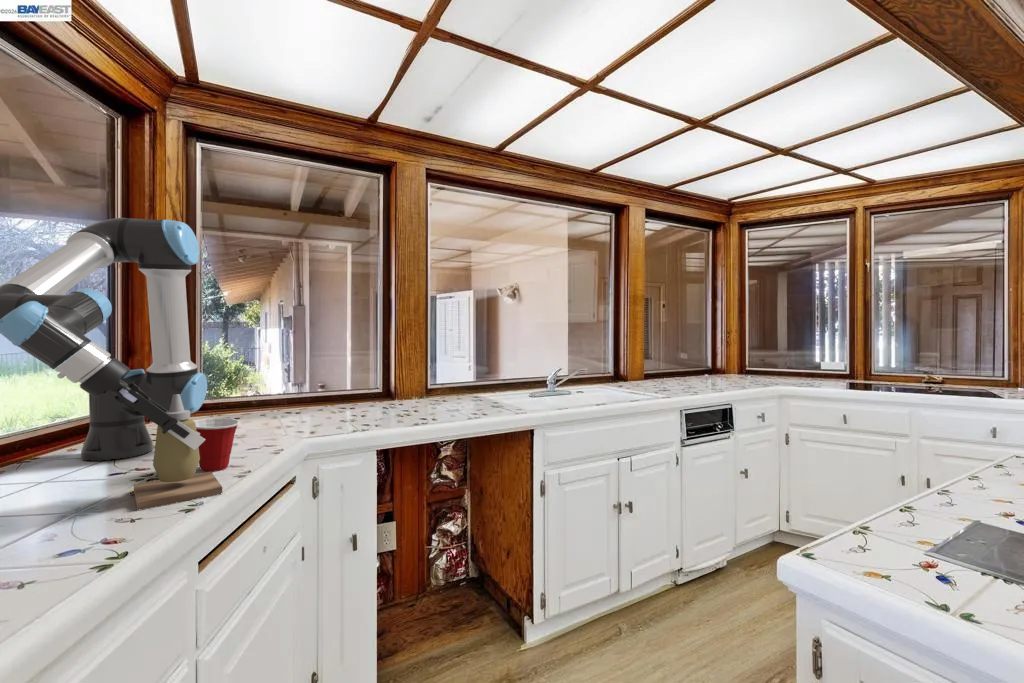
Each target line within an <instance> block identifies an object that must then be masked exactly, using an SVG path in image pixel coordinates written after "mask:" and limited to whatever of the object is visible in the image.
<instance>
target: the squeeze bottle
mask: <svg viewBox="0 0 1024 683" xmlns="http://www.w3.org/2000/svg"><path fill="white" fill-rule="evenodd" d="M166 413H167V414H169V415H170V416H171V417H173V418H175V419H177V421H178V420H179V421H180V422H181V423H183V424H184V425H186V426H187V427H189V428H190V429H191V430H193V431H194V432H196V424H195V422H194V421H195V420H193V419H191V414H190V411H189V410H184V407H183V404H182V400H181V397H180V394H175V395H173V397H172V401H171V405H170V409H169V411H167V412H166ZM167 421H168V420H167ZM162 431H163V429H162V428H161V427H160V426H158V425H157V427H156V437H155V445H154V453H153V454H154V455H153V460H152V461H153V463H152V466H153V468H154V470H155V473H156V475H157V477H158V480H160V481H161V482H179V481H183V480H187V479H190V478H192V477H193V476H194V474H196V472H197V471H196V470H197V468H198V466H199V460H200V455H199V447H198V448H197V449H196V450H194V449H192V448H191V447H189V446H188V445H186V444H185V443H184V442H182V441H181V440H179V439H178V438H176V437H175V436H173V435H172V434H170V433H169V432H166V433H165V434H163V433H162ZM196 433H197V432H196Z"/></svg>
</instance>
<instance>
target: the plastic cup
mask: <svg viewBox="0 0 1024 683" xmlns="http://www.w3.org/2000/svg"><path fill="white" fill-rule="evenodd" d="M193 421H194V422H195V424H196V431H197V432H199V433H200V436H201V437H203V438H204V439H205V441H204V442H203V443H202V444H201V445H200V446H199V455H200V460H199V463H198V466H199V469H200V471H201V472H203V473H205V472H217V471H221V470H225V469H227V468H228V467H229V463H230V457H231V453H232V450H233V445H234V440H235V433H236V431H237V428H238V426H239V424H240V423H241V421H240V420H238V419H236V418H230V417H210V418H209V417H208V418H200V419H195V420H193Z"/></svg>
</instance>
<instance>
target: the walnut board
mask: <svg viewBox="0 0 1024 683" xmlns="http://www.w3.org/2000/svg"><path fill="white" fill-rule="evenodd" d="M221 493H222V494H223V486H222V484H221V483H220V481H219V480H218V479H217V477H216V476H215V475H214V473H213V471H211V472H200V473H195V474H194V476H193V477H192V478H190V479H187V480H183V481H179V482H161V481H160V480H159V479H158V480H153V481H152V480H151V481H145V482H141V483H134V484H133V496H134V495H135V496H134V500H135V501H136V502H135V501H134V502H135V506H136V507H137V508H136V511H137V510H138V511H140V510H139V509H143V510H146V509H145V508H148V509H152V508H151V507H153V508H156V507H155V506H158V507H162V506H161V505H163V506H168V505H172V504H171V503H173V504H176V502H178V503H182V501H183V502H187V501H186V500H189V501H193V500H192V499H194V500H198V499H197V498H199V499H203V498H202V497H204V498H208V497H207V496H209V497H212V496H213V495H214V496H218V495H217V494H219V495H222V494H221ZM214 496H213V497H214ZM167 504H168V505H167Z"/></svg>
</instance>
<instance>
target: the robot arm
mask: <svg viewBox="0 0 1024 683" xmlns="http://www.w3.org/2000/svg"><path fill="white" fill-rule="evenodd" d="M199 257H200V247H199V242H198V239H197V237H196V235H195V232H194V231H193V229H192V228H191V227H190V225H189V224H187V223H186V222H184V221H183V222H182V221H180V220H179V221H178V220H172V219H154V218H153V219H151V218H130V217H115V218H109V219H105V220H102V221H98V222H96V223H92V224H91V225H88V226H85V227H84V228H81V229H80V230H78V231H76V232H75V233H73V234H71V235H70V236H69V237H68V238H67V240H66V243H65V244H64V245H63V246H61V247H60V248H58V249H56V250H55V251H53V252H52V253H50V254H49V255H47V256H45V257H44V258H43V259H41V260H39V261H38V262H36V263H34V264H33V265H31V266H30V267H29V268H27V269H25V270H23V271H22V272H20V273H19V274H17V275H16V276H14V277H13V278H11V279H9V280H8V281H7V282H5V283H2V284H1V285H0V335H2V336H3V337H4V338H6V339H7V340H8V341H9V342H10V343H12V345H14V346H15V347H16V346H17V347H18V348H20V349H21V350H23V351H24V352H25V353H28V354H29V355H31V356H32V357H34V358H35V359H37V360H38V361H40V362H41V363H43V364H45V365H46V366H48V367H49V368H51V369H52V370H54V371H55V372H56V373H58V374H57V378H58V379H63V378H65V377H66V379H67V380H69V381H70V382H72V383H73V384H77V383H80V384H79V385H78V386H79V388H80V389H81V390H83V391H85V392H86V393H87V394H88V403H89V404H88V405H89V408H88V409H89V410H88V413H89V416H88V417H89V428H88V432H87V436H86V438H85V441H84V443H83V445H82V448H81V450H80V457H81V458H80V459H81V460H82V459H83V460H82V461H86V460H91V461H90V462H100V461H99V460H106V461H112V460H111V459H116V460H121V459H120V458H123V459H128V458H127V457H129V458H134V457H138V456H142V455H144V453H146V454H148V453H150V452H153V449H154V447H153V446H154V445H153V444H154V443H153V440H152V437H151V435H150V433H149V431H148V430H149V429H148V428H147V426H146V422H145V417H146V419H149V421H151V422H152V423H153V424H155V425H157V426H160V427H161V428H162V429H163V431H162V433H163V434H165V433H166V432H169V433H170V434H172V435H173V436H175V437H176V438H178V439H179V440H181V441H182V442H184V443H185V444H186V445H188V446H189V447H191V448H192V449H194V450H196V449H197V448H198V447H199V446H200V445H201V444H202V443H203V442H204V441H205V439H204V438H203V437H201V436H200V433H199V432H197V431H196V432H197V433H196V432H194V431H193V430H191V429H190V428H189V427H187V426H186V425H184V424H183V423H181V422H180V421H179V420H178V421H177V419H175V418H173V417H171V416H170V415H169V414H167V413H166V412H167V411H169V409H170V405H171V401H172V397H173V395H175V394H180V397H181V400H182V404H183V407H184V410H189V411H190V415H191V414H193V413H196V412H198V411H199V410H200V408H201V407H202V406H203V404H204V402H205V400H206V395H207V391H208V379H207V376H206V374H205V373H202V372H198V365H197V364H196V363H194V362H193V361H192V360H191V349H190V347H191V345H190V332H189V318H188V317H189V316H188V301H187V288H186V287H187V285H186V277H187V275H189V274H190V273H191V272H192V265H197V263H198V262H199ZM114 263H137V267H138V268H137V269H138V271H140V272H141V273H142V274H143V275H144V276H145V278H146V290H147V291H146V292H147V302H148V304H147V305H148V317H149V328H150V329H149V331H150V343H151V355H152V363H151V365H150V366H148V368H146V371H145V370H144V369H143V368H137V369H130V367H129V366H127V365H125V363H124V362H121V361H120V359H117V358H114V357H113V358H111V353H110V352H109V351H107V350H105V349H104V348H103V347H102V346H100V345H99V344H97V343H96V342H95V341H93V340H91V339H90V338H89V337H87V336H86V334H88V333H90V332H92V330H94V329H96V328H97V327H99V326H101V325H103V322H105V320H107V319H108V318H110V316H111V314H112V310H113V307H112V303H111V302H110V300H109V298H108V297H107V296H106V295H104V293H101V292H100V291H99V290H95V289H92V288H79V289H78V290H74V291H71V292H69V291H70V290H71V289H72V288H73V287H75V286H76V285H78V284H79V283H80V282H81V281H83V280H84V279H85V278H87V277H88V276H89V275H90V274H92V273H93V272H94V271H96V270H97V269H104V268H107V267H108V266H110V265H112V264H114ZM67 292H69V293H68V294H65V293H67ZM167 420H168V421H167ZM147 452H148V453H147ZM141 454H142V455H141ZM137 455H138V456H137ZM133 456H134V457H133ZM94 460H95V461H94ZM96 460H97V461H96Z"/></svg>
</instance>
